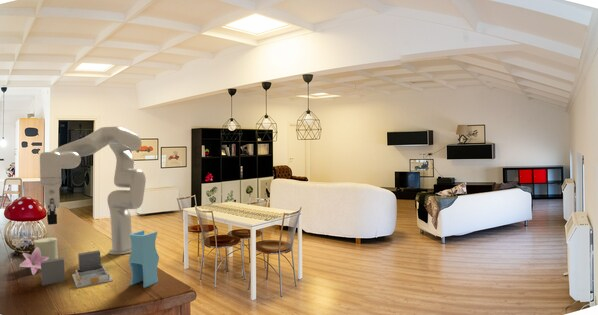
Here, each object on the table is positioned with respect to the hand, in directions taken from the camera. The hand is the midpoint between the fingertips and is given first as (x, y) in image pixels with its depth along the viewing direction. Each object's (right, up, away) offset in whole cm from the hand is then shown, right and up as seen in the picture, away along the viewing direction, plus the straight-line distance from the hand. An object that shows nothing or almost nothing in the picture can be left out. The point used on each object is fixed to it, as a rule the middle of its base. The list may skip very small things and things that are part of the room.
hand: (52, 222), depth 170 cm
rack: (+17, -23, -1) cm, 29 cm away
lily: (-14, -24, +10) cm, 29 cm away
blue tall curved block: (+42, -23, -8) cm, 48 cm away
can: (-15, -23, +21) cm, 35 cm away
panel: (+3, -24, -4) cm, 24 cm away
